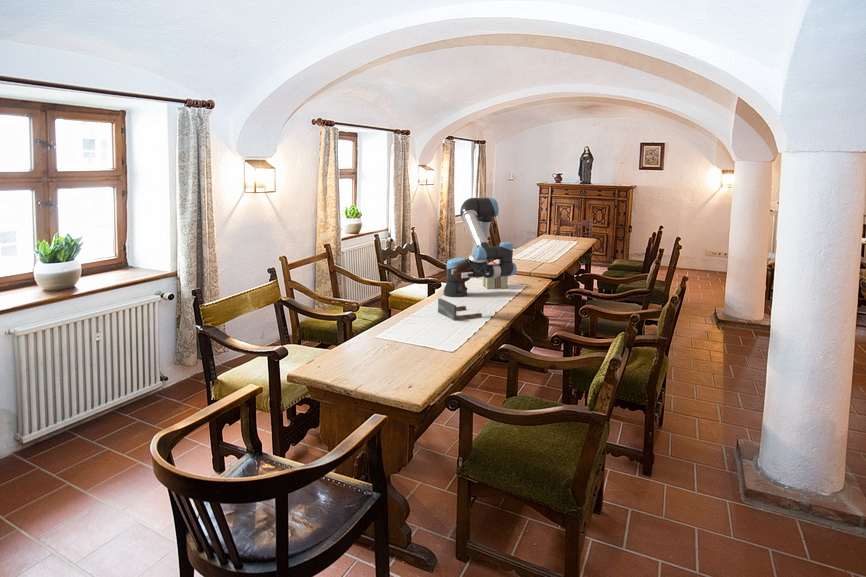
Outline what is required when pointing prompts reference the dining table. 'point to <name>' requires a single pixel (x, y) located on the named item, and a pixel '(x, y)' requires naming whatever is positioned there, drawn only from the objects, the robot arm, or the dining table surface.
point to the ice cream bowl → (458, 274)
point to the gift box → (495, 281)
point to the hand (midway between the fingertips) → (456, 273)
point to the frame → (453, 310)
